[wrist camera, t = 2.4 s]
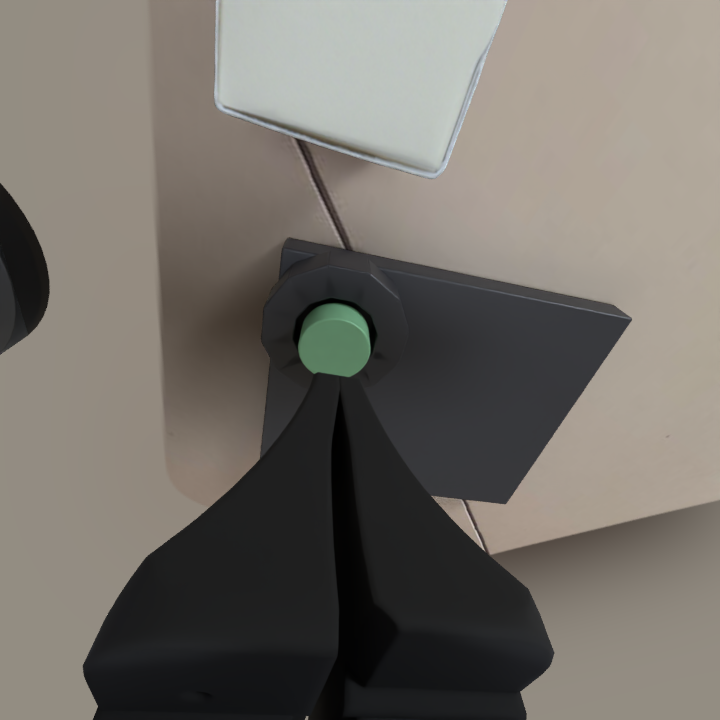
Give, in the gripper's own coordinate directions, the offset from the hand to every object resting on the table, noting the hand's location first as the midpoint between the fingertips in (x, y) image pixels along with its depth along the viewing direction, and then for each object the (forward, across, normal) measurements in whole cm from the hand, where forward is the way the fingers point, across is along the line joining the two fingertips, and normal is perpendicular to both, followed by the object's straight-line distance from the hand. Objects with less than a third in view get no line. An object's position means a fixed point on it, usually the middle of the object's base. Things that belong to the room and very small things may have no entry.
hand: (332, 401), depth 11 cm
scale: (+7, -5, +4) cm, 9 cm away
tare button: (+4, 0, 0) cm, 4 cm away
